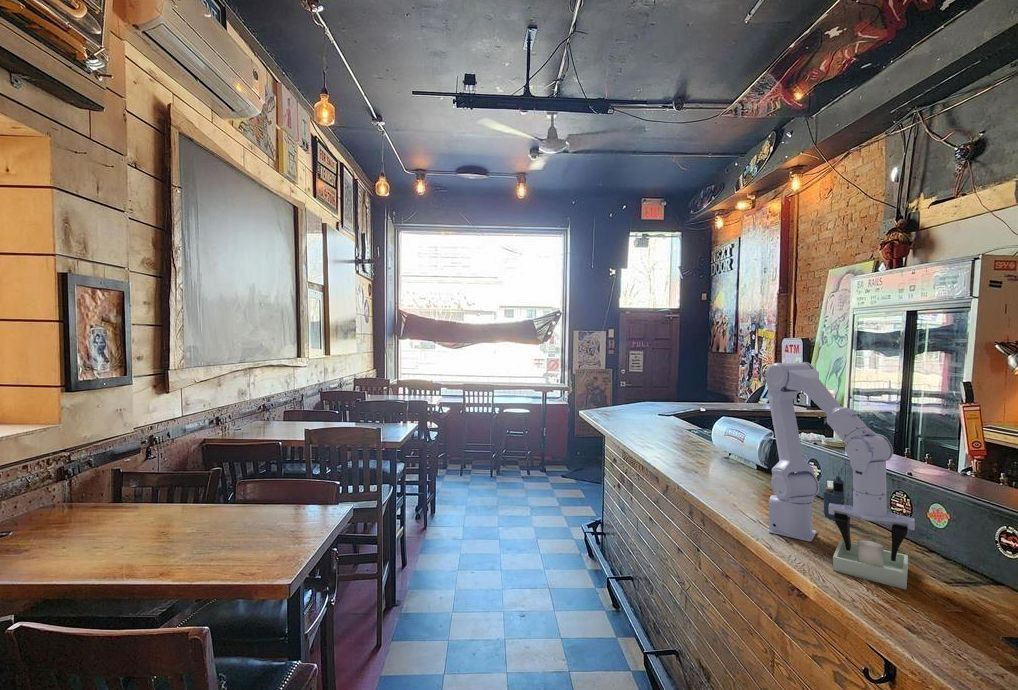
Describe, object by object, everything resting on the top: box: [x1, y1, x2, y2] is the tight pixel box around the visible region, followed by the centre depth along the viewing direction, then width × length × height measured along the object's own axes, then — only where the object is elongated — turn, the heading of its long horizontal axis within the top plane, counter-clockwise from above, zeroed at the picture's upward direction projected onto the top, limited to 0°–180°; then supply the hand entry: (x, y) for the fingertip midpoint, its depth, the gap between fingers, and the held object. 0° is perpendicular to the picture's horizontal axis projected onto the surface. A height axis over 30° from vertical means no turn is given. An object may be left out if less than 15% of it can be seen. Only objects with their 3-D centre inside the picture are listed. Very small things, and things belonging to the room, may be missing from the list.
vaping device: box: [823, 476, 845, 521], centre depth 128 cm, size 3×5×12 cm, turn 16°
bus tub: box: [832, 539, 909, 591], centre depth 99 cm, size 12×11×3 cm
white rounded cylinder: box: [857, 540, 884, 568], centre depth 99 cm, size 4×4×5 cm
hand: (870, 554), depth 99 cm, fingers open, 7 cm apart
